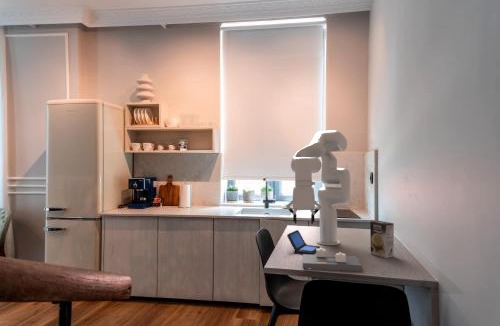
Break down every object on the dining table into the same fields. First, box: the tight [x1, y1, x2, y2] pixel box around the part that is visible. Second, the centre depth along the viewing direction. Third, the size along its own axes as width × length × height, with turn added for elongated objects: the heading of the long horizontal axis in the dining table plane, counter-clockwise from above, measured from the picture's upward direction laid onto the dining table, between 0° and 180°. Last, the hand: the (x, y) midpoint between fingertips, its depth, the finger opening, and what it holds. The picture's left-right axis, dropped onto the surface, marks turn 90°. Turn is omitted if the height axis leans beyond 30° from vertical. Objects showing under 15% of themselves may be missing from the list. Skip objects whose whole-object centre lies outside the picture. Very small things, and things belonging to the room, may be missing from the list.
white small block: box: [335, 251, 347, 262], centre depth 143 cm, size 3×4×4 cm
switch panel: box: [302, 254, 362, 272], centre depth 147 cm, size 14×24×3 cm, turn 81°
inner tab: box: [315, 246, 327, 257], centre depth 151 cm, size 3×4×4 cm
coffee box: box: [369, 220, 395, 259], centre depth 163 cm, size 9×6×16 cm
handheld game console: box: [286, 230, 321, 255], centre depth 173 cm, size 16×13×9 cm
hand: (303, 223), depth 153 cm, fingers open, 6 cm apart
